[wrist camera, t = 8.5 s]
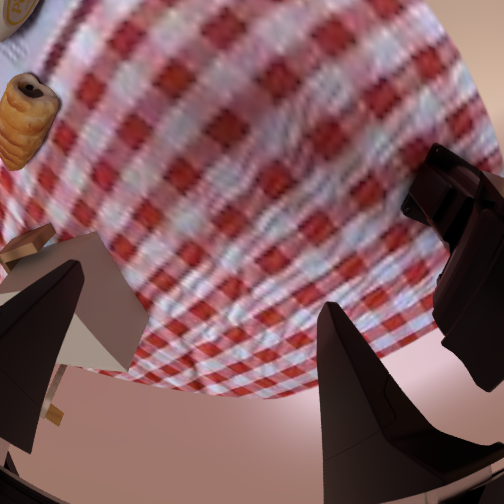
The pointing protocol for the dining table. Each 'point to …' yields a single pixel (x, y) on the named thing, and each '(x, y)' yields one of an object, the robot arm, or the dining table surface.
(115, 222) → the dining table surface
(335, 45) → the dining table surface
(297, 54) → the dining table surface
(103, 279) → the beige box
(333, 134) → the dining table surface
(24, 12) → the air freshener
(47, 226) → the walnut pocket
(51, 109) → the pastry
